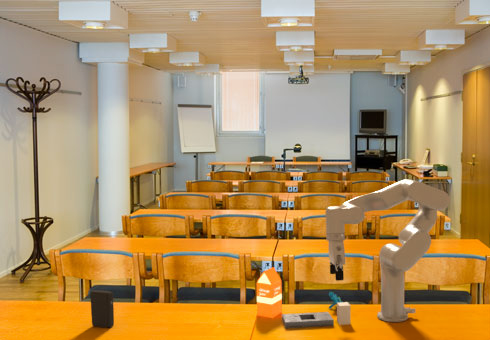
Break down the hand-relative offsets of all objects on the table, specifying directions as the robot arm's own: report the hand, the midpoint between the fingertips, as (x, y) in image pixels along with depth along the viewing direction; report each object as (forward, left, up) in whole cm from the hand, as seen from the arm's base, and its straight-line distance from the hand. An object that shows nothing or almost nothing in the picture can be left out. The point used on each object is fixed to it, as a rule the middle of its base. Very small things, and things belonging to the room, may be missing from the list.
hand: (336, 277), depth 249 cm
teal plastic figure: (-5, -18, -20) cm, 27 cm away
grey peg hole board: (+12, -2, -19) cm, 23 cm away
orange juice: (+26, -16, -20) cm, 36 cm away
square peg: (-3, 0, -20) cm, 20 cm away
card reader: (+97, -10, -20) cm, 100 cm away
